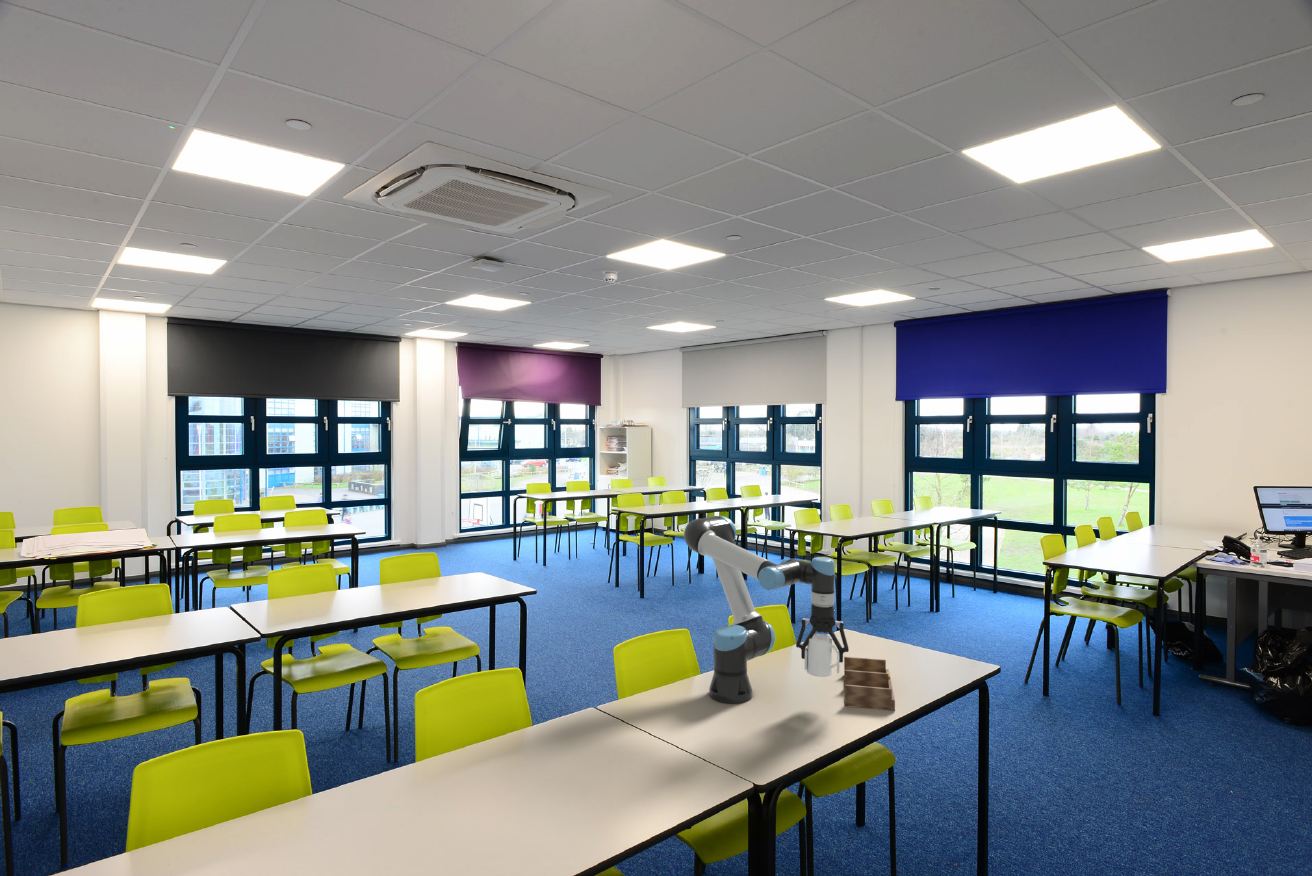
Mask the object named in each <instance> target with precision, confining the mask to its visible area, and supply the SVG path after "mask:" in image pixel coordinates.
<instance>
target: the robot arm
mask: <svg viewBox="0 0 1312 876" xmlns="http://www.w3.org/2000/svg"><path fill="white" fill-rule="evenodd" d="M736 528H737V527H736V526H735V524H734V522H733V521H732V519H730V518H728V517H726V516H722V515H713V516H708V517H701V518H696V519H693V520H691V521H690V522H689V523H688V524H686V527H685V529H684V531H683V538H684V542H685V544H686V545H687V546H688V548H689V549H691V550H692V551H693V552H695V553H697V554H700V555H701V556H708V558H709V557H710V558H711V559H712V560H713V563H714V566H715V570H716V572H717V575H718V578H719V580H720V583H721V586H722V589H723V592H724V594H725V597H726V601H727V603H728V607H729V609H730V611H731V614H732V617H733V622H732V623H731V624H730V625H723V626H720V627H719V628H717V629H716V630H715V631H714V635H713V640H712V641H713V676H712V679H711V680H710V681H711V682H710V685H709V692H708V693H709V697H710V698H711V699H713V700H714V701H716V702H719V703H724V704H726V703H727V704H740V703H744V702H747V701H749V700H751V699H752V697H753V688H752V685H751V682H750V679H749V675H748V661H751V660H753V659H756V658H758V657H762V656H764V655H766V654H767V653H769V652H770V651H771V650H772V649H773V648H774V645H775V641H776V635H775V630H774V628H773V626H772V625H771V624H770V623H768V621H765V620H764V619H763V616H762V614H760V613H759V612H757V611H756V609H755V606H754V603H753V600H752V598H751V595H750V592H749V590H748V587H747V585H746V584H747V583H746V581H745V579H744V576H743V574H746V575H747V576H749V577H751V578H753V579H755V580H758V584H760V586H761V587H762V588H763V589H764V590H768V591H773V590H778V589H781V588H784V587H787V586H792V585H794V584H797V583H800V584H806V585H811V593H810V594H811V595H810V596H811V600H810V601H811V603H812V604H811V605H810V607H811V609H810V612H811V613H810V618H805V617H802V618H801V627H800V631H799V634H798V637H797V640H796V644H795V647H796V648H799V649H800V650H801V654H800V655H801V660H804V670H805V671H806V670H807V645H808V643H809V638H810V639H812V637H813V635H814V634H817V633H825V634H827V633H828V636H830V637H831V638H832V642H833V643H834V646H835V648H836V649H837V651H838V653H839V663H838V664H837V666H836V673H837V674H839V673H840V663H841V664H843V663H844V653H848V652H849V651H850V650H849V644H848V641H847V637H846V634H845V631H844V621H843V620H840V621H839V620H836V619H835V606H834V605H835V575H836V571H835V570H836V569H835V561H834V560H833V558H830V557H822V556H821V557H820V556H818V557H813V558H812V560H811V561H806V560H801V559H795V558H783V559H782V560H781V562H780V563H778V564H777V563H775V562H772V561H770V560H768V559H766V558H764V557H762V556H760V555H759V554H756V553H754V552H751V551H749V550H747V549H745V548H743V547H741V546H738V545H737V544H736V543H735V540H736V539H737V529H736ZM809 623H810V625H811V626H812V627H811V630H810V631H809V633H808V634H807V636H806V637H805V640H804V641H803V643H801V642H802V640H803V637H804V633H805V630H806V626H808V624H809ZM835 625H836V626H837V627H836V628H838V629H839V633H840V637H841V641H842V644H843V647H842V645H841V643H840V641H839V639H838V638H837V636H836V634H835V631H834V629H833V628H834V626H835ZM837 659H838V657H837V656H836V660H837Z"/></svg>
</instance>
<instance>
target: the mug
mask: <svg viewBox="0 0 1312 876" xmlns="http://www.w3.org/2000/svg"><path fill="white" fill-rule="evenodd" d="M806 648H807V670H805V671H806V673H807V674H809V675H811V676H813V677H818V678H819V677H821V678H826V677H829V676H830V677H831V676H832V674H833V668H835V667H837V664H838V663H839V664H840V662H839V653H838V649H837V647H836V645H834V644H833V640H832V638H831V636H830V635H829V634H826V633H825V634H823V633H815V634H814V635H813V637H812V639H810V638H809V643H808V645H807V646H806ZM833 650H834V651H835V653H836V662H835V663H833V664H832V662H833V659H832V658H833ZM837 657H838V659H837Z"/></svg>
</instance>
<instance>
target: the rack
mask: <svg viewBox="0 0 1312 876" xmlns="http://www.w3.org/2000/svg"><path fill="white" fill-rule="evenodd" d="M886 661H887V660H886V659H882V658H881V659H879V658H878V659H877V658H868V657H867V658H866V657H856V656H855V657H852V656H843V667H844V669H843V670H844V671H843V672H844V673H843V674H844V681H843V682H844V706H845V707H851V708H860V709H861V708H862V709H863V708H864V709H872V710H875V709H876V710H881V711H882V710H883V711H896V699H895V698H896V697H895V694H894V690H893V685H892V681H891V672H890V670H889V669H888V668H887V667H886V666H887V665H886V663H887V662H886Z"/></svg>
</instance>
